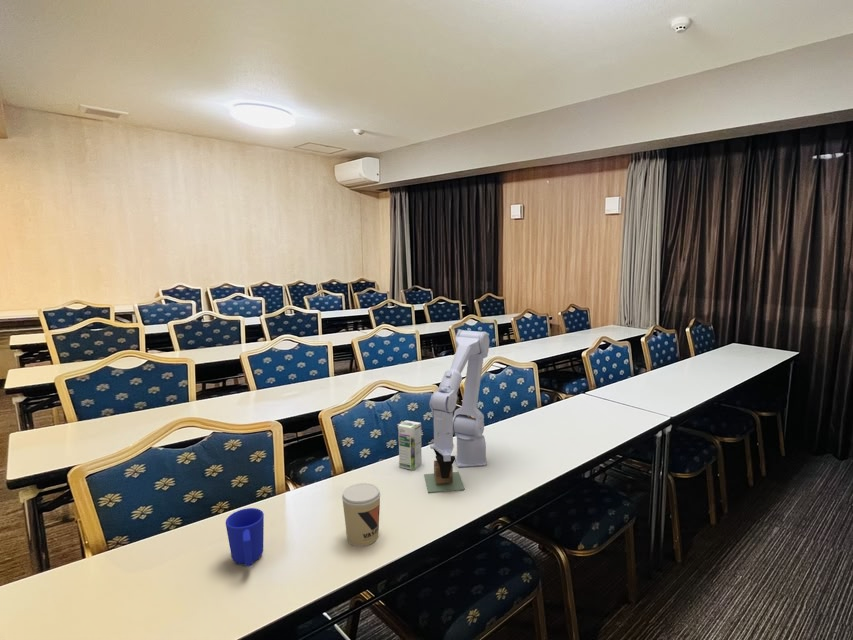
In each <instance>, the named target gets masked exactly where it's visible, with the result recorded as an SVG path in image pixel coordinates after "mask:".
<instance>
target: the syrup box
mask: <svg viewBox="0 0 853 640" xmlns="http://www.w3.org/2000/svg"><path fill="white" fill-rule="evenodd" d="M397 430H398V457H399V458H398V459H399V460H398V467H399V468H401V469H402V468H403V469H407V470H411V471H415V470H416V469H418V467H419V466H420V465H421V464H422V460H423V459H422V423H421V422H417V421H413V420H412V421H411V420H404V421H402V422H401V423H400V424H398V427H397Z"/></svg>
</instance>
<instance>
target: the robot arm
mask: <svg viewBox="0 0 853 640" xmlns="http://www.w3.org/2000/svg"><path fill="white" fill-rule="evenodd" d="M454 341H455V347H456V350H455V354H454V357H453V359H452V363H451V366H450V369H447V370H446V371H445V372H444V374H443V376H442V379H441V381H440V383H439V386H438V388H437V390H436V391H435V392H433V393H431V396H430V400H429V408H430V409H431V415H432V417H433V443H430V444H429V448H430V449H431V450H433V452H434V453H435V461H436V460H437V462H438V464H439V467H440V472H441V477H442V479H444V478H449V476H450V471H451V467H453V465H454V463H456V465H457V467H458V468H464V467H465V468H468V467H478V466H479V467H481V466H487V445H486V444H487V443H486V438H485V437H486V436H485V435H484V431H485V423H484V422H485V420H484V419H485V415H484V413H482V411H480V409H479V408H478V403H479V393H480V386H481V380H482V370H483V364H484V363H483V362H484V359H485V358H487V357H488V353H489V349H490V337H489V334H488V332H487V331H475V330H466V329H465V330H464V329H459V331H457V332H456V335H455V340H454ZM466 365H467V367H466V375H465V381H464V389H463V396H462V402H461V406H460V407H459V408H457V409H456V407H457V402H458V401H457V399H458V391H459V389H460V387H461V384H462V382H463V376H462V375H461V374H462V373H463V370H464V368H465V366H466ZM454 437H456V455H452V452H453V449H454V447H455V446H454V445H455V444H454Z"/></svg>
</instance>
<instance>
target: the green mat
mask: <svg viewBox="0 0 853 640" xmlns="http://www.w3.org/2000/svg"><path fill="white" fill-rule="evenodd" d="M423 476H424V481H425V485H426V489H427V494H436V493H447V492H448V493H449V492H450V493H451V492H463V491H464V490H465V491H466V487H465V485H464V483H463V479H462V477H461V474H460V472H459V471H453V483H440V484H436V481H435V477H434V473H424V474H423ZM465 491H464V492H465Z"/></svg>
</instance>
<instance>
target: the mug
mask: <svg viewBox="0 0 853 640" xmlns="http://www.w3.org/2000/svg"><path fill="white" fill-rule="evenodd" d="M264 517H265V514H264V511H262V509H259V508H255V507H248V508H244V509H243V508H242V509H239V510H237V511H234V512H232V513H231V514H230V515H229V516H228V517H227V518H226V520H225V528H226V534H227V538H228V543H229V544H228V545H229V549H230V550H229V551H230V555H231V558H232V561H233V562H234V563H235V564H238V565H245V567H250V566H253V565H252V564H253V563H254V562H256V561H257V560H259V559H260V558H261V556H262V554H263V552H264V535H265V533H264V528H265V527H264V526H265V525H264V523H265V521H264V519H265V518H264Z"/></svg>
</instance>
